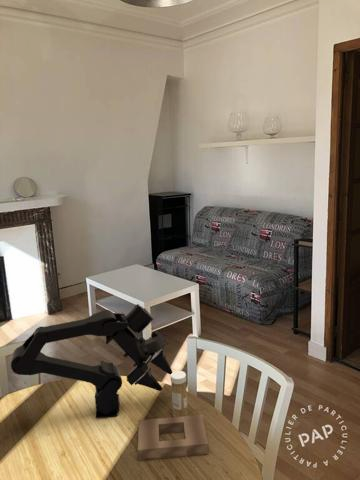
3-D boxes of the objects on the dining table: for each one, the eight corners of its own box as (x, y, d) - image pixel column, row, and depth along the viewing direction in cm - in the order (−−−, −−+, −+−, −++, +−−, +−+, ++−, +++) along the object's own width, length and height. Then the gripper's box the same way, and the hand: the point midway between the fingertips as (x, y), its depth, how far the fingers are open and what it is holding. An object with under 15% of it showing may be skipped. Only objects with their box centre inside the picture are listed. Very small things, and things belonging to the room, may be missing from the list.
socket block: (138, 460, 107) (137, 450, 106) (139, 429, 118) (138, 420, 118) (208, 453, 108) (207, 443, 107) (202, 424, 120) (202, 414, 119)
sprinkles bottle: (190, 416, 123) (189, 375, 121) (178, 422, 121) (175, 380, 118) (182, 408, 127) (180, 368, 124) (169, 414, 125) (167, 373, 122)
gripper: (134, 341, 113) (174, 383, 112) (157, 315, 130) (192, 351, 129) (110, 365, 117) (149, 405, 116) (135, 336, 134) (169, 371, 133)
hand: (166, 381), depth 123 cm, fingers open, 9 cm apart
